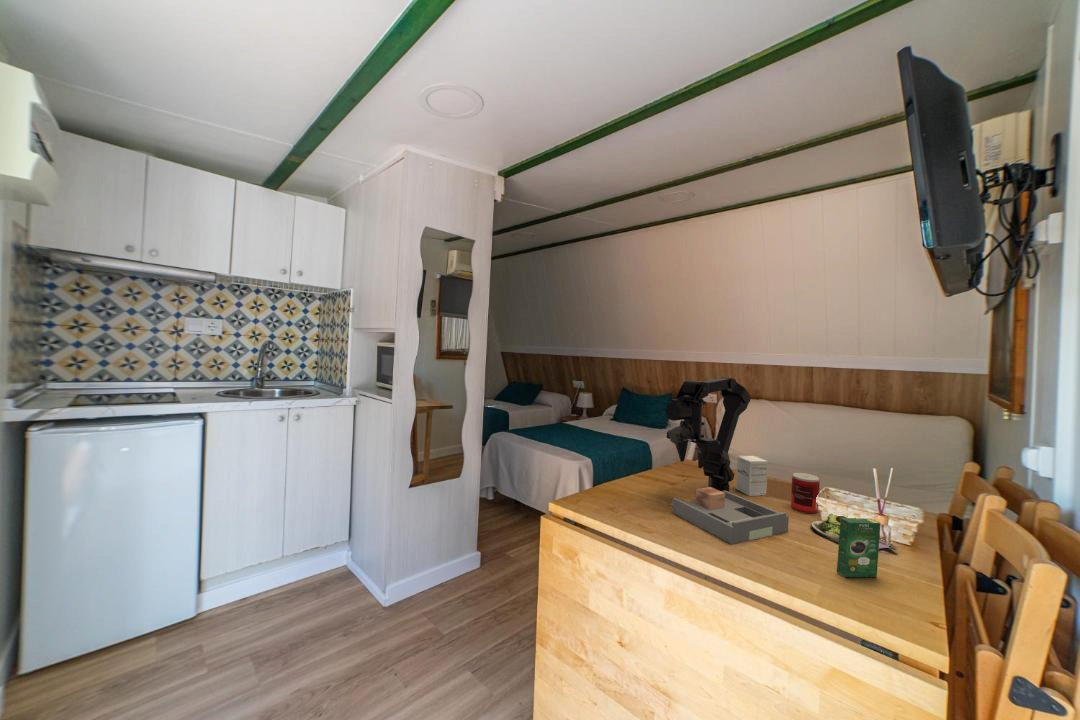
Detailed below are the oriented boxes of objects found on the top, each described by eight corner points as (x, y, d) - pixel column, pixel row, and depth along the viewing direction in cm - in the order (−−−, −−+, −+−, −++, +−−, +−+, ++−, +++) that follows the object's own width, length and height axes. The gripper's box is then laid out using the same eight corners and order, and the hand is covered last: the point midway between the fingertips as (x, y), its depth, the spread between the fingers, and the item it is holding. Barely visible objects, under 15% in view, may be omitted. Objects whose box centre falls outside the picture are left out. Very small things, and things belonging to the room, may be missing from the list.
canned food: (810, 505, 143) (811, 473, 143) (823, 514, 135) (825, 480, 135) (786, 504, 144) (787, 471, 144) (798, 513, 136) (799, 479, 136)
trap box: (672, 512, 134) (673, 495, 134) (724, 503, 143) (724, 487, 143) (731, 544, 113) (732, 523, 113) (787, 531, 122) (788, 512, 122)
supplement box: (735, 489, 158) (736, 455, 157) (753, 488, 159) (754, 455, 159) (748, 496, 151) (750, 461, 150) (767, 495, 152) (768, 460, 152)
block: (695, 502, 136) (696, 489, 136) (709, 500, 138) (710, 486, 138) (710, 509, 130) (710, 495, 130) (724, 507, 133) (725, 493, 133)
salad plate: (918, 552, 112) (919, 535, 112) (869, 560, 107) (870, 542, 107) (846, 522, 130) (847, 507, 130) (801, 528, 125) (802, 513, 125)
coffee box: (868, 571, 101) (871, 517, 100) (878, 578, 98) (881, 522, 97) (835, 571, 100) (838, 516, 100) (845, 578, 97) (848, 522, 97)
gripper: (654, 415, 147) (653, 459, 147) (694, 424, 130) (693, 475, 130) (680, 413, 151) (678, 457, 152) (721, 422, 134) (719, 471, 135)
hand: (690, 464), depth 142 cm, fingers open, 8 cm apart
